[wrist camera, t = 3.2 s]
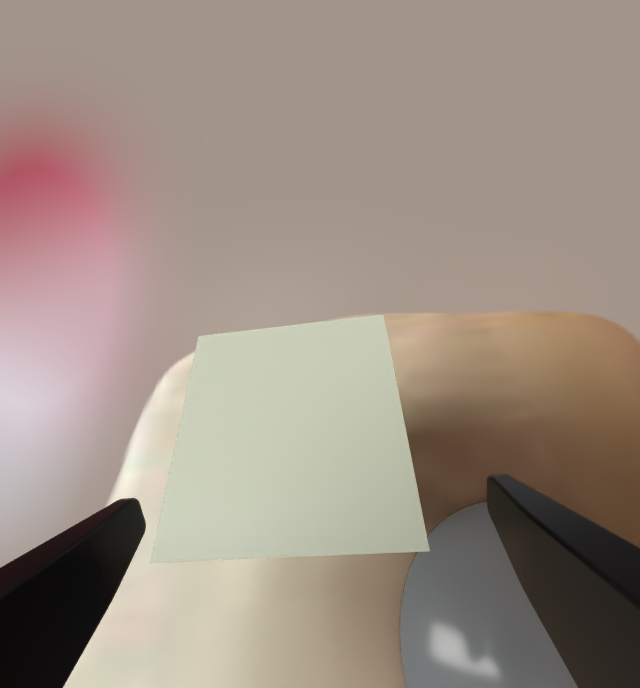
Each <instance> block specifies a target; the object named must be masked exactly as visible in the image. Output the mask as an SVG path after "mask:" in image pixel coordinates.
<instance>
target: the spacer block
mask: <svg viewBox="0 0 640 688" xmlns="http://www.w3.org/2000/svg"><path fill="white" fill-rule="evenodd" d="M427 551H430V549H429V544H428V539H427V534H426V529H425V524H424V519H423V514H422V509H421V504H420V499H419V494H418V489H417V483H416V478H415V473H414V468H413V463H412V458H411V453H410V448H409V443H408V438H407V433H406V428H405V423H404V417H403V412H402V407H401V402H400V397H399V392H398V387H397V382H396V377H395V372H394V367H393V362H392V357H391V351H390V346H389V341H388V336H387V331H386V326H385V321H384V316H383V315H375V316H366V317H358V318H349V319H341V320H332V321H324V322H315V323H307V324H298V325H289V326H281V327H273V328H264V329H255V330H247V331H238V332H230V333H221V334H213V335H205V336H199V337H198V341H197V346H196V351H195V355H194V360H193V365H192V369H191V374H190V379H189V383H188V388H187V393H186V397H185V402H184V407H183V411H182V416H181V421H180V425H179V430H178V435H177V439H176V444H175V449H174V453H173V458H172V463H171V467H170V472H169V477H168V482H167V486H166V491H165V496H164V500H163V505H162V510H161V514H160V519H159V524H158V528H157V533H156V538H155V542H154V547H153V552H152V556H151V561H150V563H160V562H184V561H208V560H233V559H257V558H281V557H305V556H330V555H354V554H378V553H403V552H427Z"/></svg>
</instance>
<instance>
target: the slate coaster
mask: <svg viewBox="0 0 640 688" xmlns="http://www.w3.org/2000/svg"><path fill="white" fill-rule="evenodd" d="M427 539H428V544H429V549H430V551H427V552H416V555H415V557H414V559H413V561H412V563H411V565H410V568H409V571H408V575H407V578H406V581H405V585H404V590H403V595H402V601H401V611H400V650H401V658H402V666H403V674H404V678H405V683H406V687H407V688H578V687H577V685H576V683H575V682H574V680H573V678H572V676H571V675H570V673H569V671H568V669H567V667H566V666H565V664H564V662H563V660H562V658H561V657H560V655H559V653H558V651H557V649H556V648H555V646H554V644H553V642H552V640H551V639H550V637H549V635H548V633H547V632H546V630H545V628H544V626H543V624H542V623H541V621H540V619H539V617H538V615H537V614H536V612H535V610H534V608H533V606H532V605H531V603H530V601H529V599H528V597H527V595H526V594H525V592H524V590H523V588H522V586H521V584H520V582H519V580H518V577H517V575H516V573H515V571H514V569H513V566H512V564H511V562H510V560H509V557H508V555H507V553H506V551H505V549H504V546H503V544H502V542H501V540H500V537H499V535H498V533H497V531H496V528H495V526H494V524H493V522H492V519H491V517H490V515H489V512H488V508H487V502H482V503H477V504H473V505H471V506H468V507H465V508H462V509H460V510H458V511H456V512H455V513H453V514H451V515H449V516H448V517H446V518H445V519H444V520H443V521H441V522H440V523H439V524H438V525H437V526H436V527H435V528H434V529H433V530H432V531H431V532H430V533H429V534H428V535H427Z"/></svg>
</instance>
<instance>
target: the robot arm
mask: <svg viewBox="0 0 640 688" xmlns="http://www.w3.org/2000/svg"><path fill="white" fill-rule="evenodd" d="M487 508H488V512H489V515H490V517H491V519H492V522H493V524H494V526H495V528H496V531H497V533H498V535H499V537H500V540H501V542H502V544H503V546H504V549H505V551H506V553H507V555H508V557H509V560H510V562H511V564H512V566H513V569H514V571H515V573H516V575H517V577H518V580H519V582H520V584H521V586H522V588H523V590H524V592H525V594H526V595H527V597H528V599H529V601H530V603H531V605H532V606H533V608H534V610H535V612H536V614H537V615H538V617H539V619H540V621H541V623H542V624H543V626H544V628H545V630H546V632H547V633H548V635H549V637H550V639H551V640H552V642H553V644H554V646H555V648H556V649H557V651H558V653H559V655H560V657H561V658H562V660H563V662H564V664H565V666H566V667H567V669H568V671H569V673H570V675H571V676H572V678H573V680H574V682H575V683H576V685H577V687H578V688H640V548H639V547H637V546H635V545H633V544H631V543H630V542H628V541H626V540H624V539H622V538H621V537H619V536H617V535H615V534H613V533H612V532H610V531H608V530H606V529H604V528H603V527H601V526H599V525H597V524H595V523H594V522H592V521H590V520H588V519H586V518H585V517H583V516H581V515H579V514H577V513H576V512H574V511H572V510H570V509H568V508H567V507H565V506H563V505H561V504H559V503H558V502H556V501H554V500H552V499H550V498H549V497H547V496H545V495H543V494H541V493H540V492H538V491H536V490H534V489H532V488H531V487H529V486H527V485H525V484H523V483H522V482H520V481H518V480H516V479H514V478H513V477H511V476H509V475H506V474H498V475H490V476H488V478H487ZM145 528H146V523H145V519H144V516H143V513H142V509H141V506H140V503H139V501H138V500H137V499H135V498H127V499H120V500H118V501H116V502H114V503H112V504H111V505H109V506H107V507H105V508H104V509H102V510H100V511H98V512H97V513H95V514H93V515H92V516H90V517H88V518H86V519H85V520H83V521H81V522H79V523H78V524H76V525H74V526H72V527H71V528H69V529H67V530H65V531H64V532H62V533H60V534H59V535H57V536H55V537H53V538H51V539H50V540H48V541H46V542H45V543H43V544H41V545H39V546H37V547H36V548H34V549H32V550H30V551H29V552H27V553H25V554H24V555H22V556H20V557H18V558H17V559H15V560H13V561H11V562H10V563H8V564H6V565H5V566H3V567H1V568H0V688H63V686H64V685H65V683H66V681H67V679H68V678H69V676H70V674H71V672H72V671H73V669H74V667H75V665H76V664H77V662H78V660H79V658H80V656H81V655H82V653H83V651H84V649H85V648H86V646H87V644H88V642H89V641H90V639H91V637H92V635H93V634H94V632H95V630H96V628H97V627H98V625H99V623H100V621H101V620H102V618H103V616H104V614H105V612H106V611H107V609H108V607H109V605H110V603H111V601H112V600H113V598H114V596H115V594H116V592H117V590H118V588H119V585H120V583H121V581H122V579H123V577H124V575H125V573H126V571H127V569H128V567H129V564H130V562H131V560H132V558H133V556H134V554H135V552H136V550H137V548H138V546H139V543H140V541H141V539H142V537H143V535H144V533H145Z"/></svg>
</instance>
